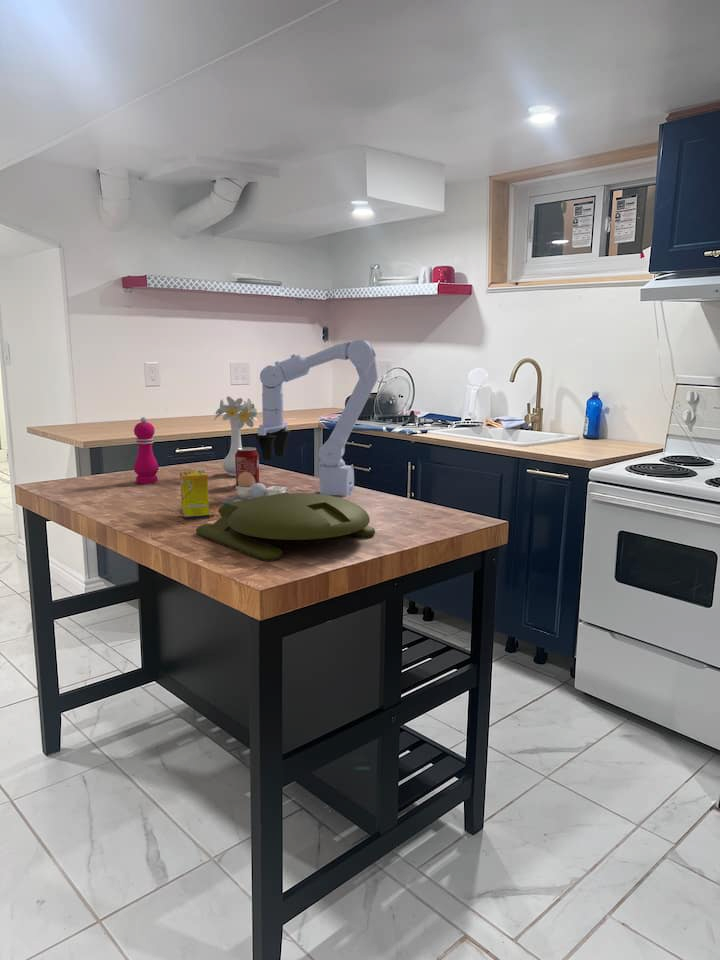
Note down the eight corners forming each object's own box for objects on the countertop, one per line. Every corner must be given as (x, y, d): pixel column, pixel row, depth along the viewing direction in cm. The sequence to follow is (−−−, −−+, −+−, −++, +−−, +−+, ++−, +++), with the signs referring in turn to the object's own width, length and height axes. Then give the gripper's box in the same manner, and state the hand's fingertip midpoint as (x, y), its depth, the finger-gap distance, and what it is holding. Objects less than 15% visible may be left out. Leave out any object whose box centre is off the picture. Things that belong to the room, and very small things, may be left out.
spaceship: (191, 535, 158) (189, 492, 156) (300, 513, 178) (300, 476, 176) (284, 573, 132) (283, 522, 130) (398, 542, 153) (399, 499, 151)
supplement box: (181, 514, 175) (179, 471, 173) (205, 512, 177) (204, 470, 175) (184, 520, 169) (182, 475, 167) (209, 518, 171) (207, 474, 169)
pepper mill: (133, 481, 216) (129, 416, 213) (157, 479, 219) (154, 415, 216) (136, 485, 210) (132, 418, 206) (161, 483, 213) (157, 417, 209)
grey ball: (269, 498, 189) (269, 482, 188) (262, 501, 185) (262, 485, 184) (255, 497, 190) (254, 481, 189) (247, 500, 186) (247, 484, 185)
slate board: (296, 499, 192) (296, 494, 191) (274, 511, 179) (274, 505, 178) (244, 495, 197) (244, 489, 196) (219, 506, 184) (218, 500, 184)
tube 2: (288, 498, 189) (288, 487, 188) (280, 502, 185) (280, 490, 184) (272, 497, 191) (272, 485, 190) (264, 500, 186) (264, 489, 185)
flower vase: (236, 481, 216) (233, 400, 212) (207, 473, 230) (204, 396, 226) (271, 476, 225) (270, 398, 220) (242, 468, 239) (240, 394, 234)
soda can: (257, 491, 202) (256, 450, 200) (234, 491, 203) (232, 450, 200) (261, 486, 209) (260, 446, 207) (238, 486, 209) (237, 446, 207)
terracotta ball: (257, 487, 191) (257, 471, 190) (249, 489, 187) (249, 473, 186) (242, 485, 193) (242, 470, 192) (234, 488, 189) (234, 472, 188)
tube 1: (258, 495, 192) (258, 484, 191) (250, 499, 187) (249, 488, 187) (242, 494, 193) (242, 483, 193) (234, 498, 189) (233, 486, 188)
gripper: (271, 406, 202) (272, 453, 205) (247, 411, 189) (248, 461, 191) (293, 407, 200) (294, 454, 202) (271, 412, 186) (272, 462, 189)
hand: (273, 458), depth 197 cm, fingers open, 7 cm apart
